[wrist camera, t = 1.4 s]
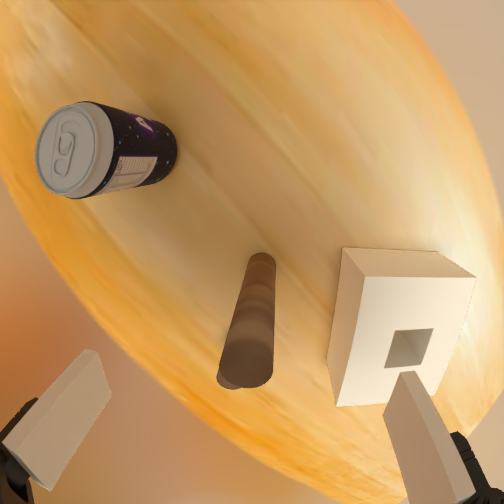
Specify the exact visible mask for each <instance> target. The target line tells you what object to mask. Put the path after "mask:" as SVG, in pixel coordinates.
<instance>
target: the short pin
mask: <svg viewBox="0 0 504 504" xmlns="http://www.w3.org/2000/svg"><path fill="white" fill-rule="evenodd" d="M217 382H218V383H219V384H220V385H221V386H222V387H224V388H226V389H231V390H235V389H239V388H241V387H238V386H235V385H233V384H231V383H229V382H228V381H227V380H225V378H224V377H223V376H222V374H221V372H220V369H219V370H218V373H217Z"/></svg>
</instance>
